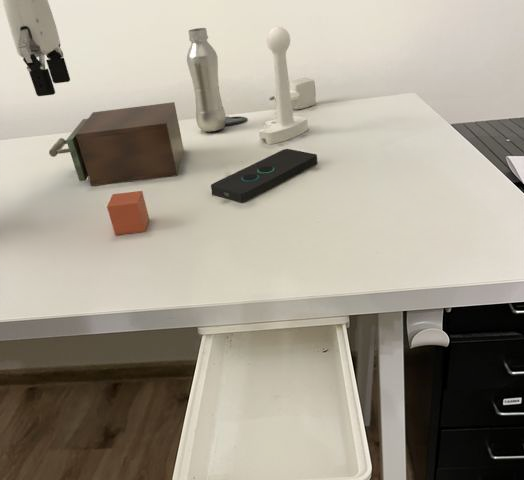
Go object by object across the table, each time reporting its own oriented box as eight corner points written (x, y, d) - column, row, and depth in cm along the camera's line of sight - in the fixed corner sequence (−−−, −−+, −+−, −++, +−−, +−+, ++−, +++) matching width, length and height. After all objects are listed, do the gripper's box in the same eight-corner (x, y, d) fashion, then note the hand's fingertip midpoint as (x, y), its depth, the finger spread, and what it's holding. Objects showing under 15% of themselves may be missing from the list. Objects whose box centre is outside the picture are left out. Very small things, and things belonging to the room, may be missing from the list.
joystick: (273, 145, 111) (263, 33, 99) (249, 139, 116) (237, 31, 104) (312, 129, 117) (306, 21, 104) (287, 124, 121) (279, 20, 109)
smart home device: (208, 184, 94) (284, 147, 104) (209, 194, 95) (285, 156, 105) (242, 193, 89) (319, 153, 100) (243, 203, 90) (319, 163, 101)
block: (115, 235, 86) (106, 206, 83) (120, 222, 90) (112, 194, 87) (145, 231, 86) (137, 202, 83) (149, 218, 89) (142, 190, 87)
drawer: (53, 184, 105) (38, 143, 100) (70, 160, 115) (58, 122, 110) (159, 171, 104) (149, 129, 99) (167, 148, 114) (158, 109, 110)
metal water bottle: (205, 125, 128) (189, 27, 115) (232, 125, 125) (218, 25, 113) (193, 134, 123) (175, 33, 111) (220, 135, 121) (205, 31, 108)
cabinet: (91, 185, 104) (75, 134, 99) (106, 159, 116) (92, 112, 110) (177, 175, 104) (166, 123, 98) (183, 150, 115) (174, 102, 109)
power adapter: (279, 117, 127) (277, 89, 123) (268, 113, 130) (265, 86, 127) (318, 105, 131) (317, 78, 127) (306, 102, 134) (305, 76, 131)
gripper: (15, -26, 96) (48, 80, 107) (-25, -17, 83) (18, 103, 93) (56, -31, 96) (86, 75, 106) (23, -24, 82) (61, 98, 93)
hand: (54, 88), depth 100 cm, fingers open, 9 cm apart
